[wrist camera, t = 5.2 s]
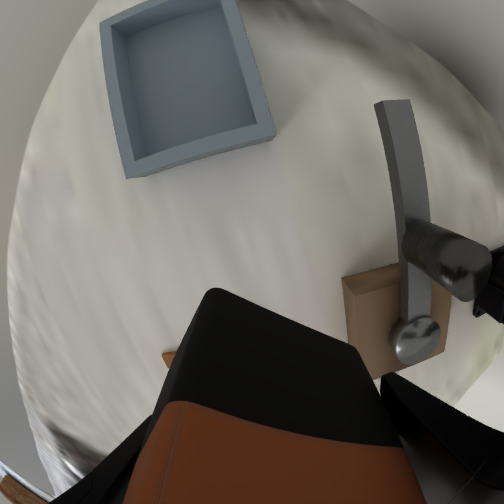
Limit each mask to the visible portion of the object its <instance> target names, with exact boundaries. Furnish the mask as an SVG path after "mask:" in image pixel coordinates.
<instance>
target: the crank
mask: <svg viewBox="0 0 504 504" xmlns="http://www.w3.org/2000/svg"><path fill="white" fill-rule="evenodd" d="M374 108H375V112H376V116H377V120H378V124H379V128H380V132H381V136H382V141H383V145H384V150H385V155H386V160H387V165H388V171H389V176H390V182H391V189H392V195H393V203H394V210H395V219H396V228H397V239H398V252H399V271H400V318H399V319H398V320H397V321H396V322H395V324H394V325H393V327H392V328H391V330H390V333H389V339H388V340H389V345H390V347H391V348H392V350H393V351H394V353H395V354H396V356H397V357H398V359H399V360H400V362H402V363H403V364H407V365H411V364H415V363H418V362H420V361H422V360H424V359H425V358H426V357H428V356H429V355H430V354H431V353H432V352H433V350H434V349H435V348H436V346H437V344H438V342H439V340H440V336H441V329H440V326H439V324H438V323H437V322H436V321H435V320H434V319H433V318H432V317H431V316H430V309H431V291H432V279H433V280H434V281H435V282H437V283H438V284H439V285H441V286H442V287H443V288H445V289H446V290H447V291H449V292H450V293H451V294H453V295H454V296H455V297H456V298H458V299H459V300H460V301H463V302H468V301H471V300H473V299H475V298H476V297H477V296H478V295H479V294H480V293H481V292H482V291H483V290H484V288H485V286H486V285H487V283H488V280H489V278H490V274H491V270H492V257H491V253H490V251H489V249H488V248H487V247H486V246H484V245H482V244H479V243H477V242H475V241H473V240H471V239H468V238H466V237H464V236H461V235H459V234H457V233H454V232H452V231H450V230H447V229H445V228H442V227H440V226H437V225H435V224H432V223H431V222H430V209H429V199H428V190H427V182H426V175H425V168H424V162H423V156H422V151H421V145H420V140H419V136H418V131H417V127H416V122H415V118H414V114H413V110H412V106H411V103H410V99H407V100H385V101H381V102H379V103H376V104H374Z"/></svg>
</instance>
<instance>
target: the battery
mask: <svg viewBox="0 0 504 504" xmlns="http://www.w3.org/2000/svg"><path fill="white" fill-rule="evenodd" d="M123 504H427V502H426V500H425V497H424V495H423V492H422V490H421V487H420V485H419V482H418V480H417V477H416V475H415V472H414V470H413V467H412V465H411V463H410V460H409V458H408V456H407V453H406V451H405V449H404V446H403V444H402V442H401V440H400V437H399V435H398V433H397V431H396V428H395V426H394V424H393V422H392V420H391V417H390V415H389V413H388V411H387V409H386V407H385V405H384V402H383V400H382V398H381V396H380V394H379V392H378V390H377V388H376V386H375V384H374V382H373V380H372V378H371V376H370V374H369V372H368V370H367V368H366V366H365V364H364V362H363V360H362V358H361V356H360V354H359V352H358V350H357V349H356V348H355V347H354V346H352V345H350V344H347V343H345V342H343V341H340V340H338V339H335V338H333V337H330V336H328V335H326V334H323V333H321V332H318V331H316V330H314V329H311V328H309V327H307V326H304V325H302V324H300V323H297V322H295V321H293V320H290V319H288V318H286V317H284V316H281V315H279V314H277V313H275V312H272V311H270V310H268V309H266V308H263V307H261V306H259V305H257V304H255V303H252V302H250V301H248V300H246V299H244V298H242V297H239V296H237V295H235V294H233V293H231V292H229V291H226V290H224V289H221V288H212V289H209V290H208V291H207V292H206V293H205V295H204V297H203V299H202V301H201V303H200V305H199V307H198V309H197V311H196V313H195V315H194V317H193V319H192V321H191V323H190V325H189V327H188V329H187V331H186V333H185V335H184V337H183V340H182V342H181V344H180V346H179V348H178V350H177V352H176V354H175V356H174V358H173V361H172V363H171V366H170V368H169V371H168V374H167V376H166V379H165V382H164V384H163V387H162V390H161V392H160V395H159V398H158V401H157V403H156V406H155V409H154V412H153V414H152V417H151V420H150V423H149V426H148V429H147V431H146V434H145V437H144V440H143V443H142V446H141V449H140V452H139V455H138V458H137V461H136V464H135V467H134V470H133V473H132V476H131V479H130V482H129V485H128V488H127V492H126V495H125V498H124V501H123Z"/></svg>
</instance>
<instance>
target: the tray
mask: <svg viewBox="0 0 504 504" xmlns="http://www.w3.org/2000/svg"><path fill="white" fill-rule="evenodd" d="M99 24H100V36H101V47H102V56H103V64H104V72H105V79H106V85H107V92H108V98H109V103H110V109H111V114H112V119H113V124H114V129H115V134H116V139H117V143H118V148H119V152H120V156H121V160H122V164H123V168H124V172H125V176H126V179H130V178H138V177H145V176H148V175H151V174H154V173H157V172H160V171H163V170H166V169H169V168H172V167H175V166H178V165H181V164H184V163H188V162H191V161H194V160H197V159H201V158H204V157H208V156H211V155H215V154H218V153H222V152H226V151H229V150H233V149H237V148H241V147H245V146H249V145H253V144H258V143H262V142H266V141H271V140H273V138H274V137H275V135H276V133H275V129H274V125H273V121H272V118H271V114H270V110H269V107H268V103H267V100H266V96H265V93H264V89H263V86H262V82H261V79H260V75H259V72H258V69H257V65H256V62H255V59H254V56H253V53H252V49H251V46H250V43H249V40H248V37H247V34H246V31H245V28H244V25H243V22H242V19H241V16H240V13H239V10H238V7H237V4H236V2H235V0H148V1H145V2H143V3H140V4H138V5H136V6H133V7H131V8H129V9H127V10H124V11H122V12H120V13H118V14H116V15H114V16H112V17H110V18H108V19H106V20H104V21H102V22H100V23H99Z"/></svg>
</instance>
